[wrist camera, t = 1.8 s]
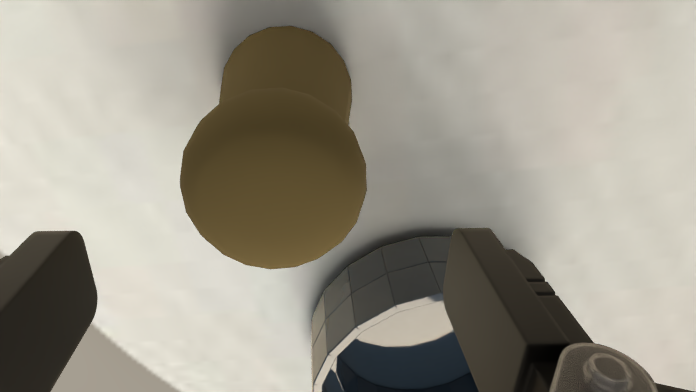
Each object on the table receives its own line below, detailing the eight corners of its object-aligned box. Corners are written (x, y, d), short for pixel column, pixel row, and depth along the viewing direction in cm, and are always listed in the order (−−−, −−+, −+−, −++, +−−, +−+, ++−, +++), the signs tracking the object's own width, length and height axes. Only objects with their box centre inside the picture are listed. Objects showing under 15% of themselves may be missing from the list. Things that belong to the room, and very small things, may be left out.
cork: (221, 149, 22) (156, 299, 13) (219, 18, 20) (135, 79, 10) (344, 159, 23) (373, 306, 13) (359, 33, 20) (409, 104, 11)
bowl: (312, 228, 25) (314, 294, 20) (548, 228, 26) (604, 290, 21) (309, 397, 31) (310, 479, 26) (500, 390, 32) (534, 467, 27)
